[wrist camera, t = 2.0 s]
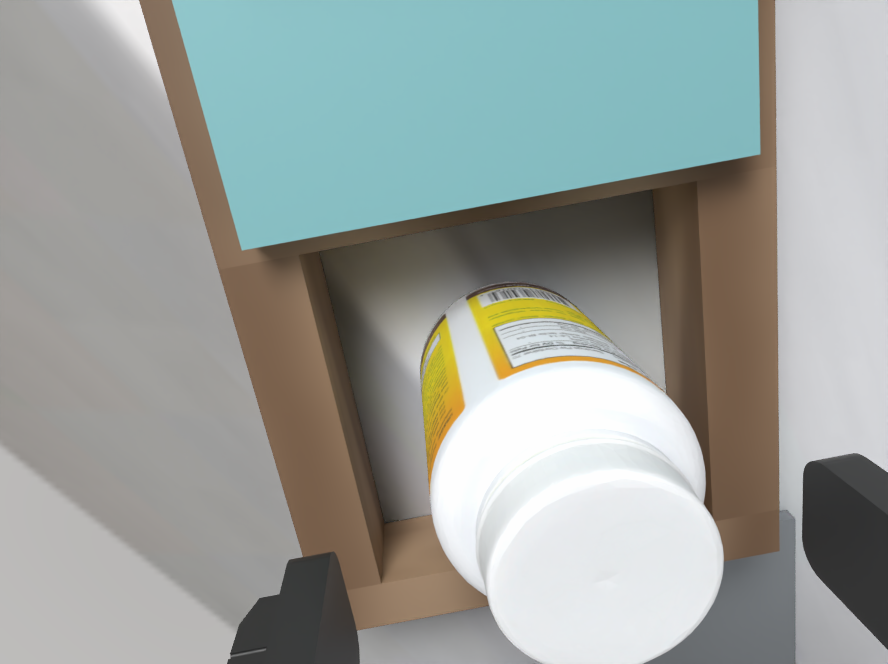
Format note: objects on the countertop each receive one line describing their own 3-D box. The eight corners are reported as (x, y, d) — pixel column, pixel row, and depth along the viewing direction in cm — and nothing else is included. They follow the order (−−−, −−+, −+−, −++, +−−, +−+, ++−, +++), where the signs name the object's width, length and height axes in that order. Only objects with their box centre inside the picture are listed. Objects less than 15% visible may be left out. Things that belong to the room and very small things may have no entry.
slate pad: (786, 510, 22) (794, 518, 22) (787, 682, 25) (795, 692, 24) (565, 551, 22) (568, 560, 22) (588, 719, 25) (591, 731, 24)
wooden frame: (701, -284, 15) (771, -382, 12) (730, 496, 22) (779, 551, 19) (129, -179, 15) (64, -253, 12) (336, 570, 22) (326, 636, 19)
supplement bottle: (479, 470, 21) (544, 762, 11) (385, 340, 19) (364, 549, 10) (624, 382, 20) (826, 612, 11) (538, 240, 19) (683, 356, 9)
